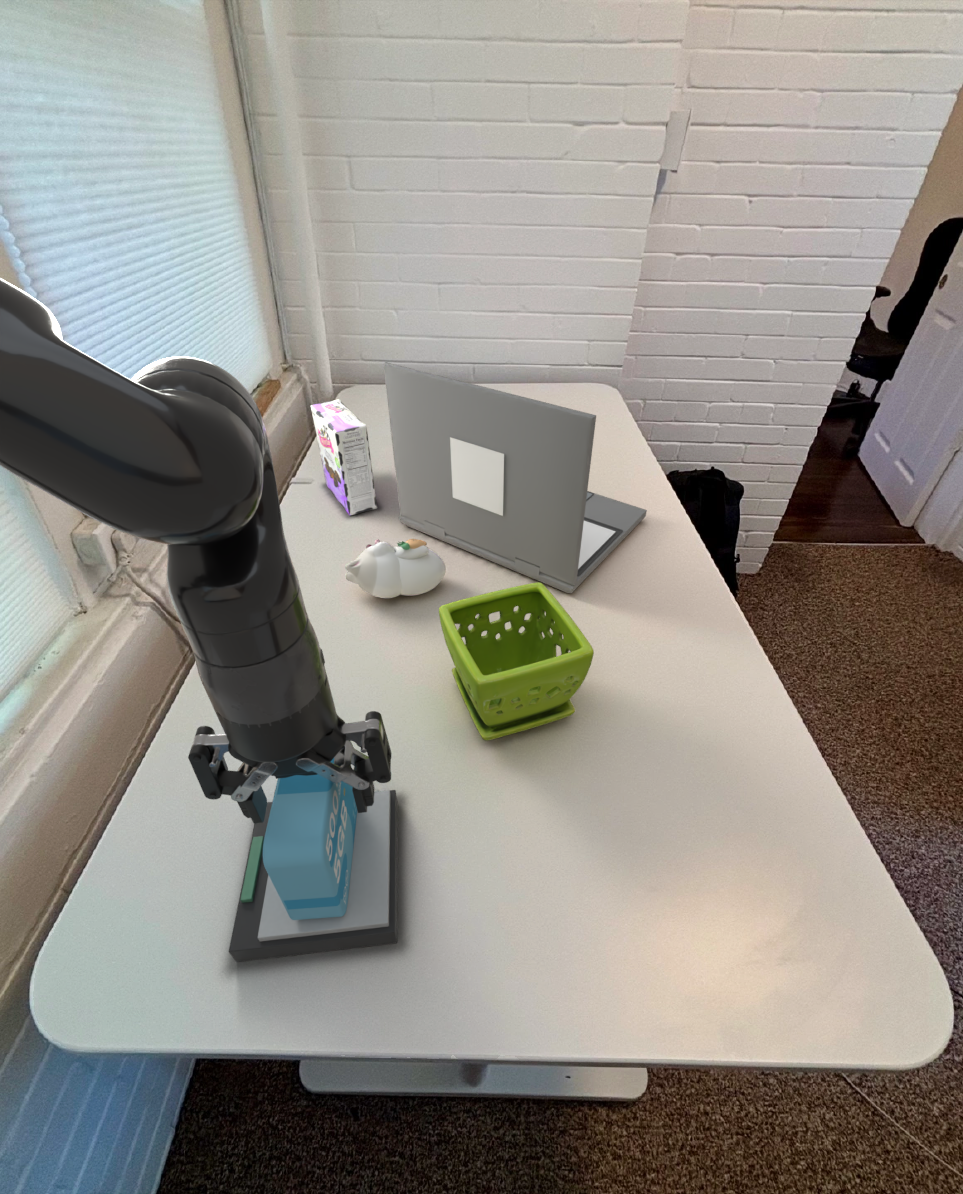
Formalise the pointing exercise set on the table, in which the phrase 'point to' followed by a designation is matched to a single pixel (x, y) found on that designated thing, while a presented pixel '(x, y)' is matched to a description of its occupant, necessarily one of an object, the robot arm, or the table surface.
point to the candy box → (345, 456)
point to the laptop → (501, 477)
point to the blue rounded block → (311, 845)
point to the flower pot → (515, 658)
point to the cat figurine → (396, 569)
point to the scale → (364, 923)
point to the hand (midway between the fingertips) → (313, 808)
